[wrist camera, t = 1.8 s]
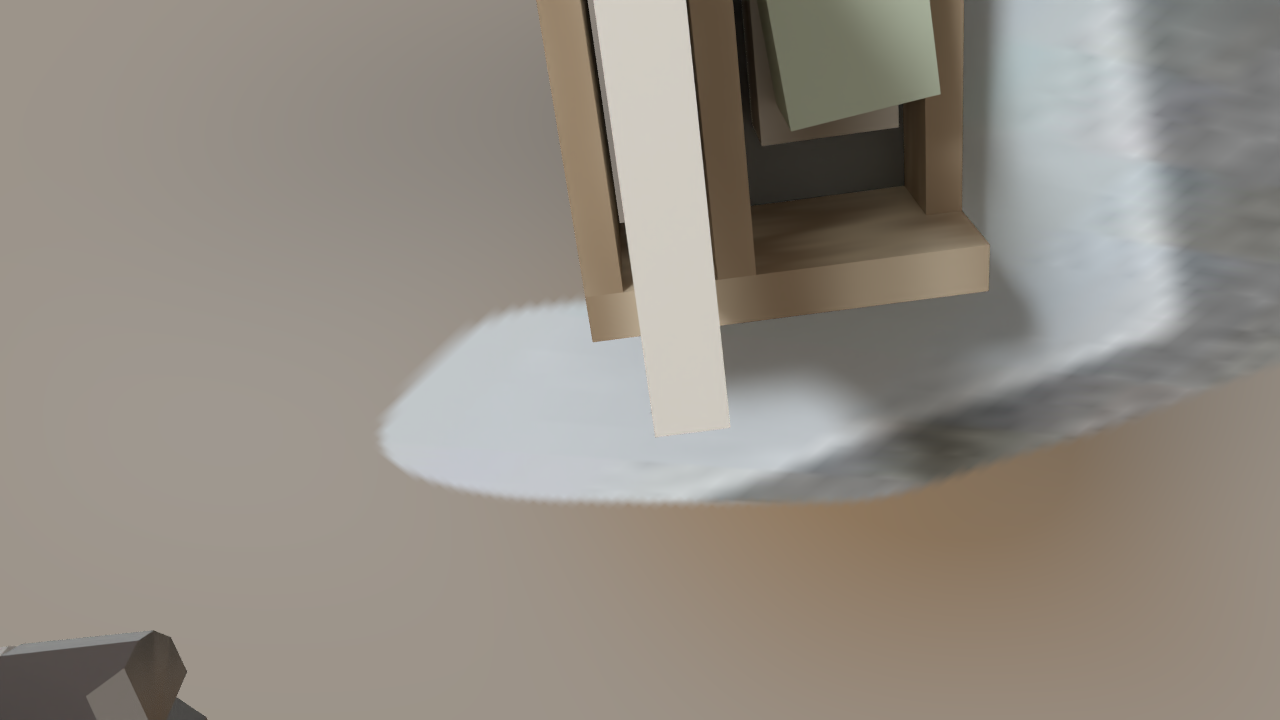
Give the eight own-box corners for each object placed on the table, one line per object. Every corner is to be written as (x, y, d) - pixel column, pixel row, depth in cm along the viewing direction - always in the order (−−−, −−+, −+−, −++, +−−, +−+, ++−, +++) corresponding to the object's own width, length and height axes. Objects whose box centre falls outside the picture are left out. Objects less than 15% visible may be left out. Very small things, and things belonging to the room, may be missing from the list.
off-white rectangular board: (624, -295, 33) (649, -349, 17) (676, 161, 40) (730, 428, 24) (570, -287, 33) (545, -334, 17) (631, 167, 40) (655, 437, 24)
